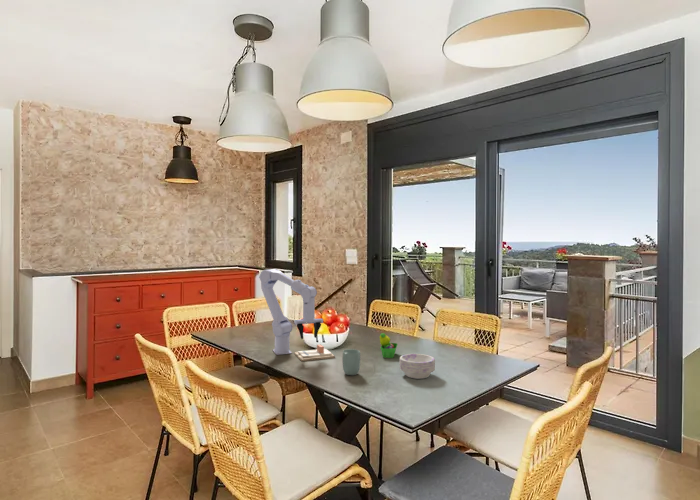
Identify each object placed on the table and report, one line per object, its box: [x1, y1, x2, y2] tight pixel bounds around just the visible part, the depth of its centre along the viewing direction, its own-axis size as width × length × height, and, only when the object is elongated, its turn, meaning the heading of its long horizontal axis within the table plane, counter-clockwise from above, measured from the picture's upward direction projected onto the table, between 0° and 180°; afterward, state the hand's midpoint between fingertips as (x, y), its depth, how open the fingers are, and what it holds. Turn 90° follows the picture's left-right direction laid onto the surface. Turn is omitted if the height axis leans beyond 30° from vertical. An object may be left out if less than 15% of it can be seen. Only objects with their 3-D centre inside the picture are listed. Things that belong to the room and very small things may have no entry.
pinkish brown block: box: [314, 344, 333, 356], centre depth 213 cm, size 10×6×4 cm, turn 22°
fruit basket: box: [378, 332, 398, 359], centre depth 214 cm, size 11×9×11 cm
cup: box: [341, 348, 361, 376], centre depth 183 cm, size 8×8×10 cm
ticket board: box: [293, 349, 336, 362], centre depth 211 cm, size 14×17×2 cm
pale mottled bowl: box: [399, 353, 436, 380], centre depth 182 cm, size 15×15×8 cm
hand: (308, 337), depth 210 cm, fingers open, 6 cm apart
